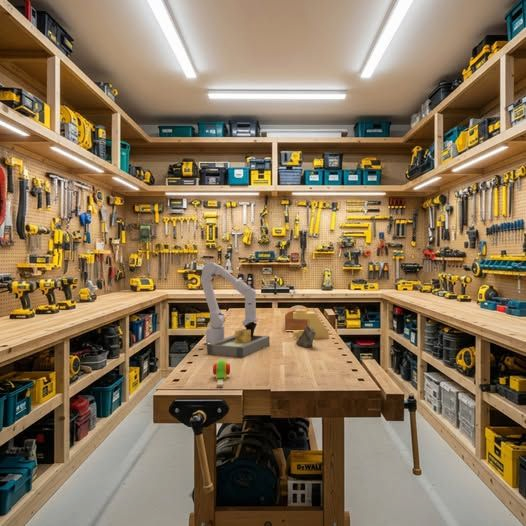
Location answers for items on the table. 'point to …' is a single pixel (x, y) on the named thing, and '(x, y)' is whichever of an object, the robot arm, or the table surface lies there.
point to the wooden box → (295, 323)
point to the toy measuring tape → (221, 371)
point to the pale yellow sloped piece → (310, 323)
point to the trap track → (237, 346)
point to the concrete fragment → (306, 337)
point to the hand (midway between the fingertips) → (250, 336)
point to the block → (242, 336)
